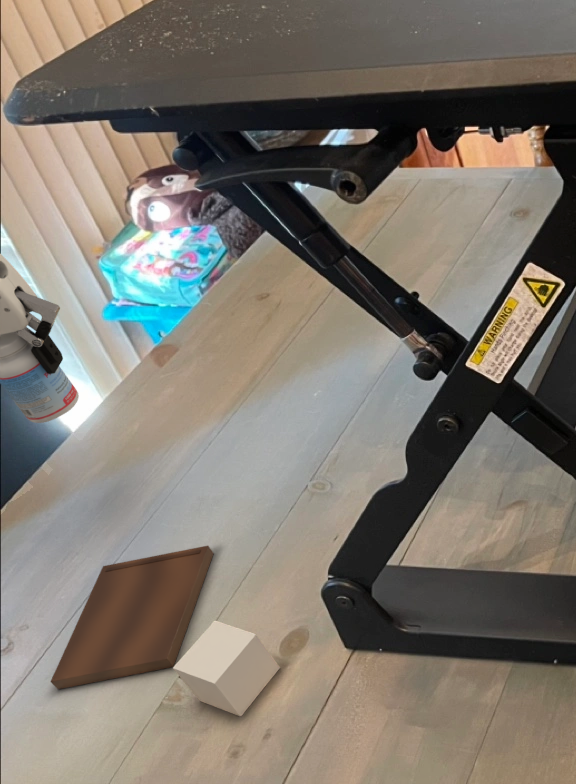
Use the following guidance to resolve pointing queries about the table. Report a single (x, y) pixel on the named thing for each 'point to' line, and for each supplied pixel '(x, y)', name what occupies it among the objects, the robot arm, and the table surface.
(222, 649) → the white cube
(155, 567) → the serving tray
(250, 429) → the table surface
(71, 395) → the pill bottle
